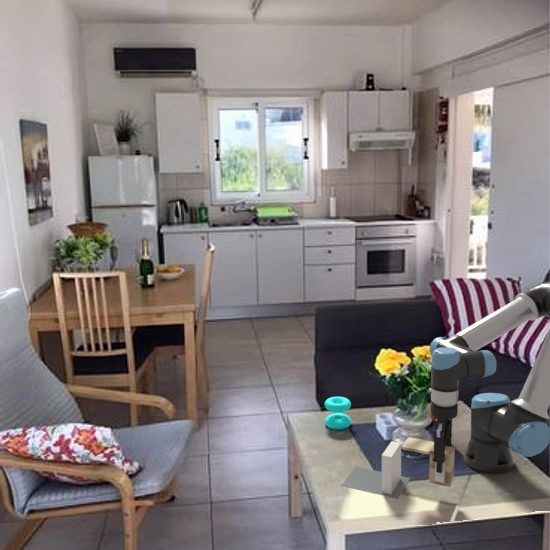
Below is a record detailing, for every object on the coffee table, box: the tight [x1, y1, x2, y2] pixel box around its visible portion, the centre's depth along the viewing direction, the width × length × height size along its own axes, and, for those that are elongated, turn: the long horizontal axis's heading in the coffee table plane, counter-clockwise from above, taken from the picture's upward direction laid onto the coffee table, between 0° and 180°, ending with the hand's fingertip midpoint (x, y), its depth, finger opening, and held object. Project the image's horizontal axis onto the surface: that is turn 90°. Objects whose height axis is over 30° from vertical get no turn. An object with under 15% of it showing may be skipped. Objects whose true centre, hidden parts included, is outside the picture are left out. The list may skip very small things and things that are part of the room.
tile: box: [381, 440, 402, 494], centre depth 187 cm, size 3×10×12 cm, turn 152°
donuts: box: [324, 396, 352, 431], centre depth 233 cm, size 10×10×10 cm
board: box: [340, 466, 411, 500], centre depth 190 cm, size 18×13×1 cm
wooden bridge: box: [401, 436, 456, 488], centre depth 180 cm, size 14×7×10 cm, turn 62°
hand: (441, 476), depth 179 cm, fingers closed on wooden bridge, 5 cm apart
